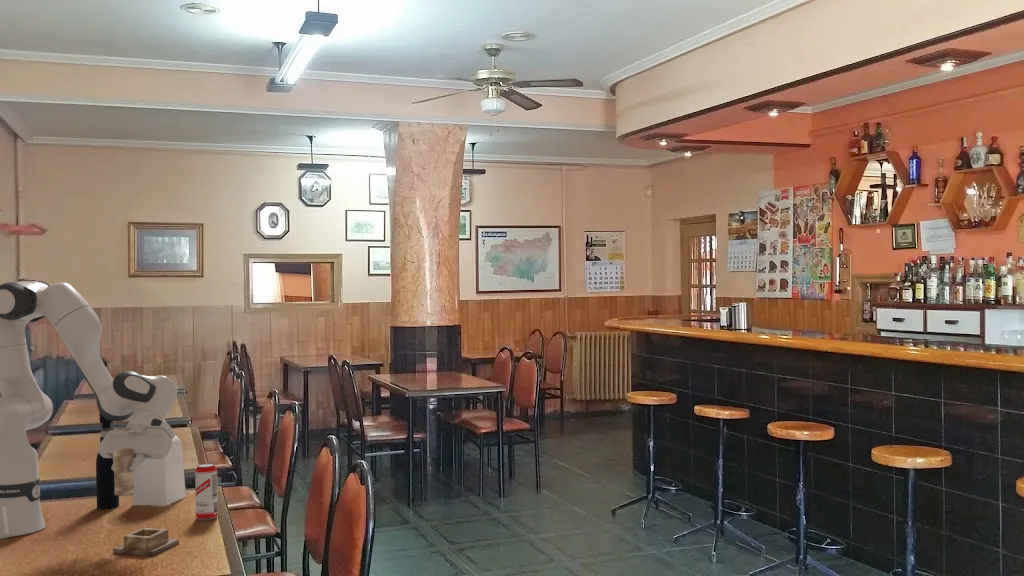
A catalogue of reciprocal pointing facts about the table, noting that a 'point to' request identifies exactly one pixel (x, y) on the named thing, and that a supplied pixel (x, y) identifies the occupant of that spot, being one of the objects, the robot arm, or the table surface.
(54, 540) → the table surface
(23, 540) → the table surface
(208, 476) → the beer can
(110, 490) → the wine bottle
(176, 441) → the milk
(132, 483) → the beige rectangular block
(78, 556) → the table surface
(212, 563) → the table surface
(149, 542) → the wooden socket base
